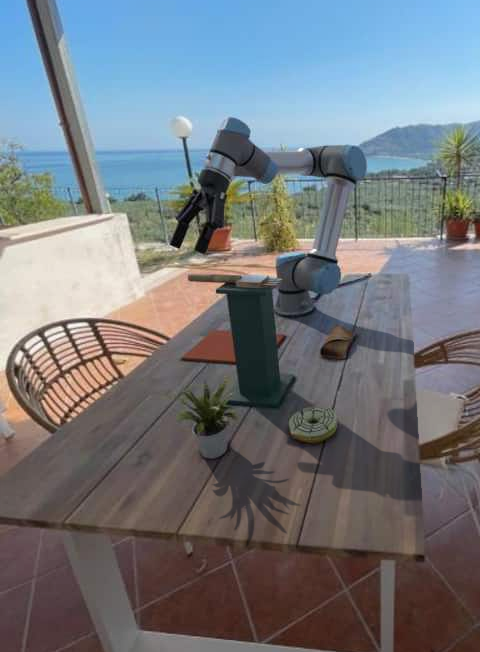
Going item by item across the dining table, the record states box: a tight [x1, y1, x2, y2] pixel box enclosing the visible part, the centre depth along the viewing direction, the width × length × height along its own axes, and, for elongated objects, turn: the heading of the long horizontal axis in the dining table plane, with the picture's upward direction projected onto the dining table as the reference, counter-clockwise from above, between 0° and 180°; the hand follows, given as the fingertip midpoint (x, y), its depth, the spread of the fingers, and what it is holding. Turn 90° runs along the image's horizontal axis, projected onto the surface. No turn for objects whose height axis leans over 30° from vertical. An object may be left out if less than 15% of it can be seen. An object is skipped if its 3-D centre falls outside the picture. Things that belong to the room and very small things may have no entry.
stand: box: [215, 277, 295, 408], centre depth 98 cm, size 14×14×30 cm
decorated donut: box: [288, 405, 338, 444], centre depth 87 cm, size 10×11×4 cm
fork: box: [187, 272, 283, 289], centre depth 92 cm, size 6×23×2 cm, turn 82°
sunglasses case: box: [319, 323, 358, 360], centre depth 126 cm, size 18×7×7 cm, turn 169°
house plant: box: [161, 375, 238, 459], centre depth 78 cm, size 14×14×16 cm
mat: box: [181, 329, 286, 365], centre depth 125 cm, size 20×26×1 cm
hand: (186, 249), depth 100 cm, fingers open, 13 cm apart
